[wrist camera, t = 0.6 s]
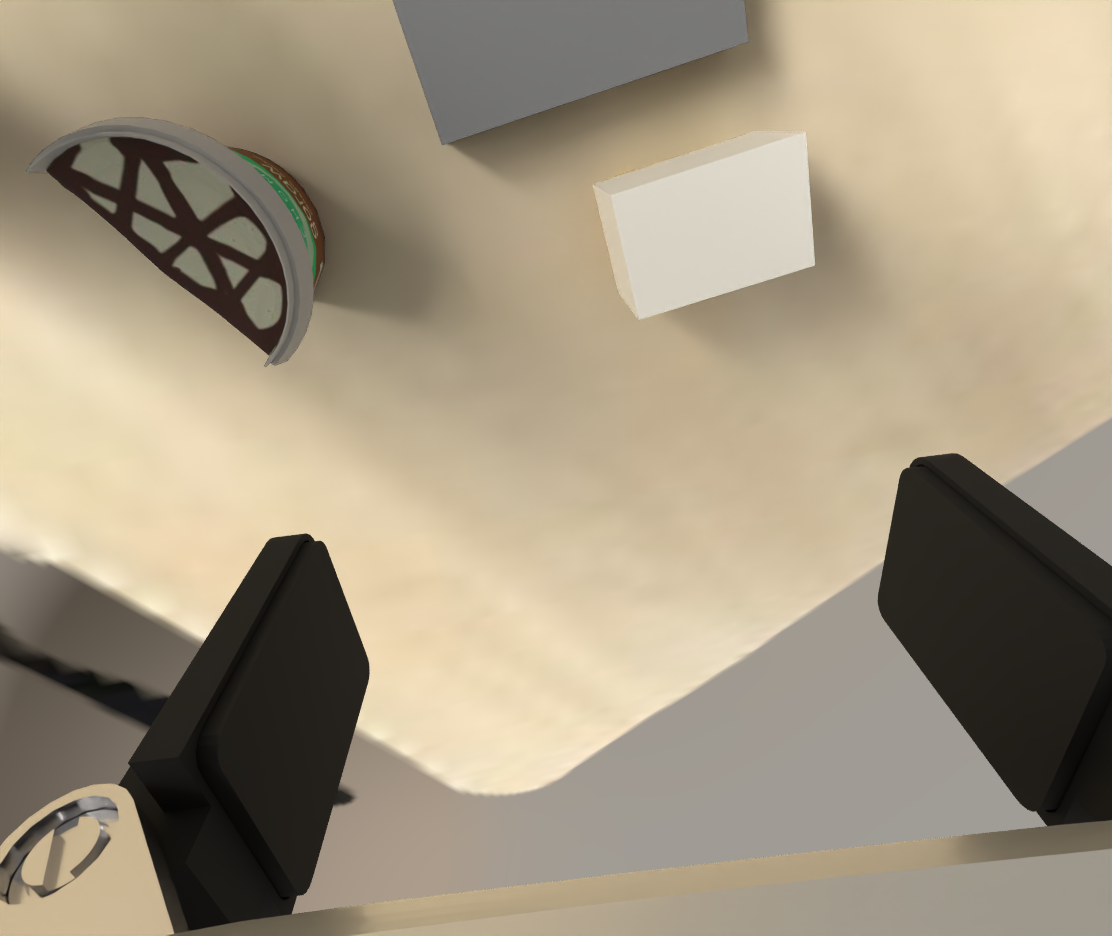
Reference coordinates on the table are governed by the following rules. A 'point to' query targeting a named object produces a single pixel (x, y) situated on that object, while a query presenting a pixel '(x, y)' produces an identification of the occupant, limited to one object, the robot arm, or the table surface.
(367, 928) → the robot arm
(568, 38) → the socket
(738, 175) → the plug
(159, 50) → the table surface
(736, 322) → the table surface
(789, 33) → the table surface
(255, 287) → the food container
